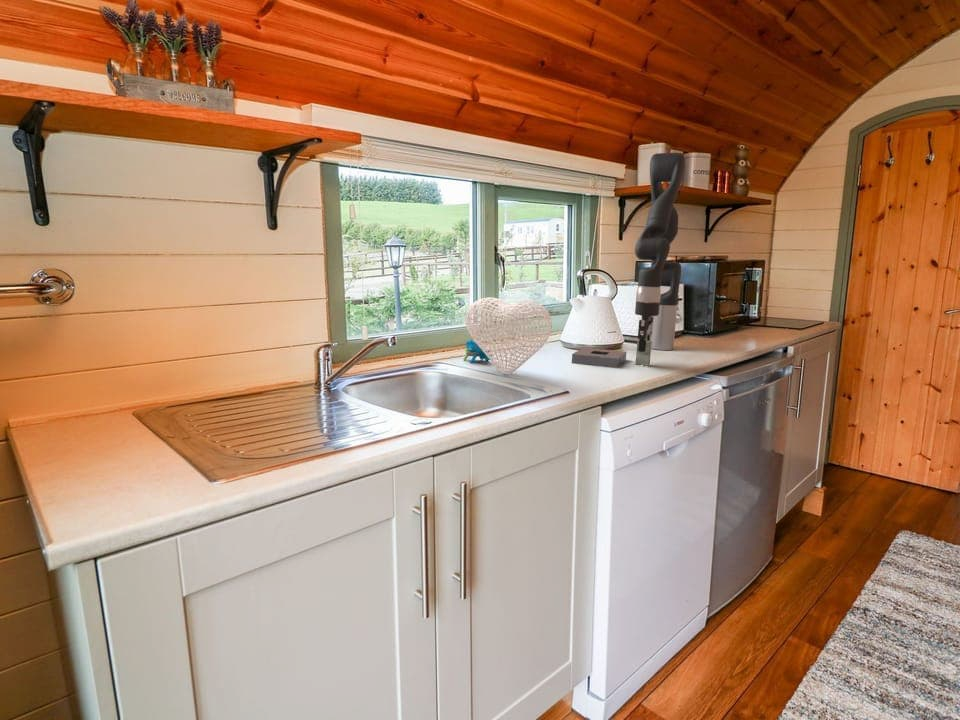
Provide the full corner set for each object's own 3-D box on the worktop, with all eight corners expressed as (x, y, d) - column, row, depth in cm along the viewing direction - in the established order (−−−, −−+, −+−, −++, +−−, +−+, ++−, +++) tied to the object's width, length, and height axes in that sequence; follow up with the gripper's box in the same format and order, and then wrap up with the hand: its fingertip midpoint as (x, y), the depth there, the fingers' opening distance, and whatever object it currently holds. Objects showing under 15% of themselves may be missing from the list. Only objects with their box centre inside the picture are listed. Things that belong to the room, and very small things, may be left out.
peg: (637, 363, 195) (639, 339, 194) (649, 364, 194) (651, 341, 192) (635, 365, 192) (637, 341, 190) (647, 366, 190) (649, 342, 188)
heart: (559, 378, 169) (563, 302, 165) (526, 386, 158) (529, 304, 154) (488, 363, 188) (490, 294, 184) (454, 369, 177) (455, 296, 173)
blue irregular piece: (499, 358, 188) (480, 338, 183) (489, 372, 186) (470, 352, 181) (478, 357, 197) (460, 338, 192) (469, 371, 195) (450, 351, 190)
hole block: (583, 355, 206) (583, 347, 206) (625, 360, 200) (626, 351, 200) (571, 362, 193) (572, 354, 192) (617, 367, 187) (617, 358, 186)
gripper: (639, 298, 196) (635, 346, 199) (632, 301, 184) (628, 351, 186) (662, 299, 193) (658, 348, 196) (656, 302, 181) (652, 354, 183)
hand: (643, 349), depth 191 cm, fingers open, 8 cm apart
